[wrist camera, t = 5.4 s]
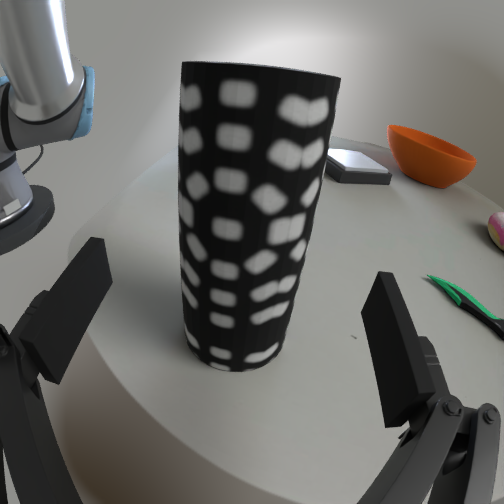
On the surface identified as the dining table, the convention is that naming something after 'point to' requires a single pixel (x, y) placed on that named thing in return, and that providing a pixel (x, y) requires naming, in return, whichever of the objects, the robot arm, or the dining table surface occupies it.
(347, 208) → the dining table surface
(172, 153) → the dining table surface
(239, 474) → the dining table surface
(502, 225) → the donut
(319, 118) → the white-spotted black cylinder
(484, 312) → the knife
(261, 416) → the dining table surface
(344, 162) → the scale
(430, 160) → the bowl
